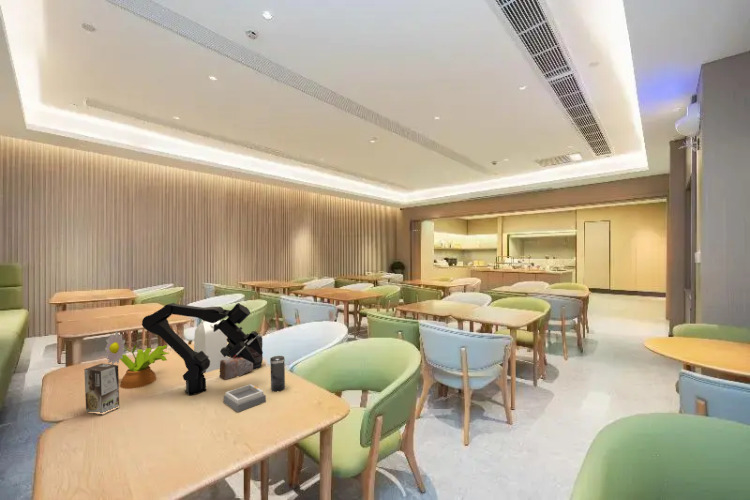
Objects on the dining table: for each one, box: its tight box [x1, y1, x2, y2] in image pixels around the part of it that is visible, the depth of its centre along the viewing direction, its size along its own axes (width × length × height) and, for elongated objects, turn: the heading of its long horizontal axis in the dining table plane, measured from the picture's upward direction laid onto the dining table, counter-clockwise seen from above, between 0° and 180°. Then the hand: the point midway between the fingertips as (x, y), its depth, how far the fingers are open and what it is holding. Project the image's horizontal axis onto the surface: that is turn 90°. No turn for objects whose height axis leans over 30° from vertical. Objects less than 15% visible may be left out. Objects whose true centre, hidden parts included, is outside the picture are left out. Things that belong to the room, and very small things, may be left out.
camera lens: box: [244, 334, 264, 370], centre depth 169 cm, size 8×8×15 cm
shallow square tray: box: [223, 383, 267, 413], centre depth 131 cm, size 11×12×4 cm
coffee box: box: [84, 362, 120, 413], centre depth 126 cm, size 9×6×16 cm
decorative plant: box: [104, 330, 170, 390], centre depth 152 cm, size 27×24×25 cm
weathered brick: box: [219, 355, 254, 380], centre depth 159 cm, size 14×8×10 cm, turn 138°
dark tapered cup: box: [269, 355, 286, 393], centre depth 142 cm, size 6×6×13 cm
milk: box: [193, 319, 229, 374], centre depth 170 cm, size 12×12×26 cm
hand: (258, 358), depth 142 cm, fingers open, 9 cm apart
